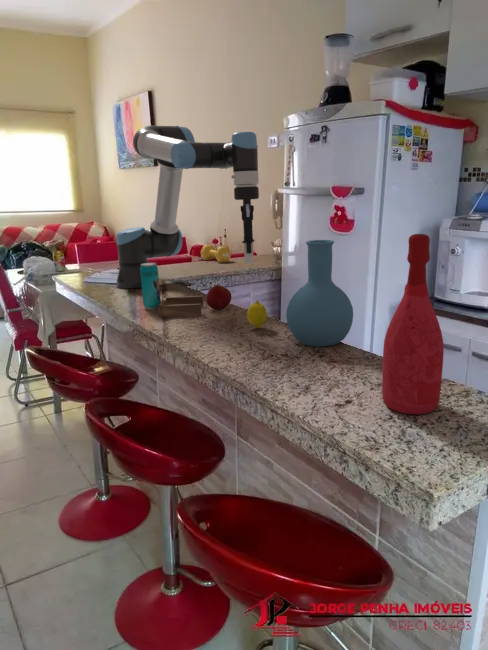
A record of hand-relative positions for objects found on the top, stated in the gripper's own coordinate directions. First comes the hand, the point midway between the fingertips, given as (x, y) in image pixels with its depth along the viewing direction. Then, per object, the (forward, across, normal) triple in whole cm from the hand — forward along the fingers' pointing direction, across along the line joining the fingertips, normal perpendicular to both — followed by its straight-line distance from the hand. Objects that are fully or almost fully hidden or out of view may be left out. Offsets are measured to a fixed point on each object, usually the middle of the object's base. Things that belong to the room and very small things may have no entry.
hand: (249, 263), depth 160 cm
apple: (+15, 0, -10) cm, 18 cm away
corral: (+15, 0, -22) cm, 27 cm away
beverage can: (+15, -6, -33) cm, 37 cm away
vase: (+15, +38, +16) cm, 44 cm away
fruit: (+15, +24, +1) cm, 28 cm away
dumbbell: (+14, -113, -14) cm, 115 cm away
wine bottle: (+16, +78, +25) cm, 83 cm away
